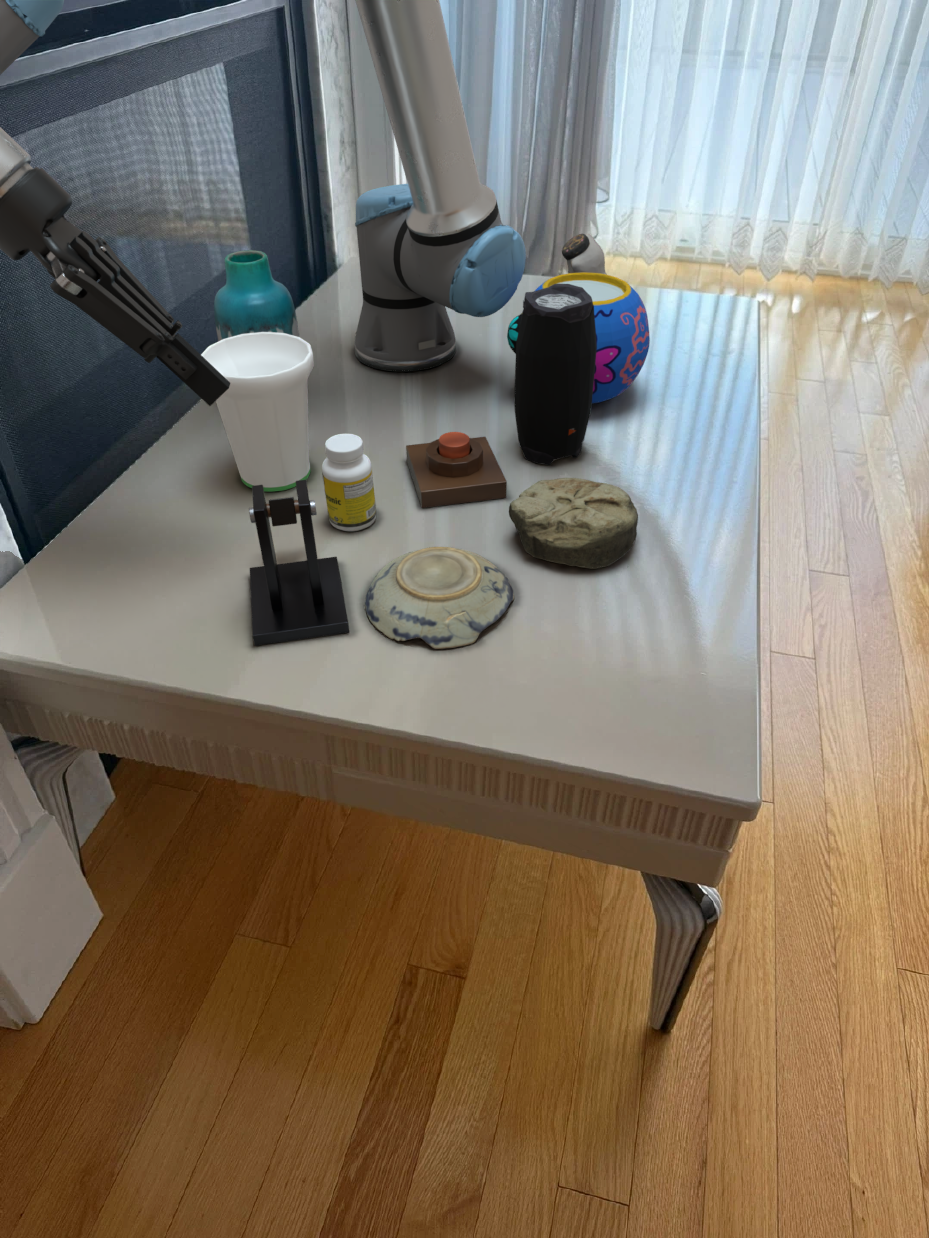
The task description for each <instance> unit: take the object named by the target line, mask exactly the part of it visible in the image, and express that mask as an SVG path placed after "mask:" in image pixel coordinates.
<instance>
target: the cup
mask: <svg viewBox="0 0 929 1238" xmlns="http://www.w3.org/2000/svg"><path fill="white" fill-rule="evenodd" d="M200 354H201V355H202V356H203V357H204V358H205V359H206V360H207V361H208V362H209V363H210V364H211V365H212V366H213V367H214V368H215V369H216V370H217V371H218V372H219V373H221V374H222V375H223V376H224V377H225V378H226V379H227V380H228V381H229V382H230V386H229V389H228V390H227V391H225V392H224V393H223V394H222V395H221V396H220V397H219V398H218V399H217V400H216V401H215V403H216V406H217V409H218V413H219V415H220V419H221V421H222V424H223V428H224V431H225V434H226V437H227V439H228V443H229V447H230V449H231V451H232V455H233V458H234V462H235V464H236V467H237V470H238V474H239V475H240V479H241V482H242V483H243V484H244V485H245V486H246V487H247V488H250V489H252V486H255V485H263V489H264V493H265V492H267V493H273V492H275V493H276V492H282V491H287V490H290V489H293V488H296V481H299V480H306V481H307V480H308V479H309V477H310V474H311V472H312V471H311V463H310V440H309V439H310V437H309V435H310V434H309V433H310V431H309V382H308V381H309V379H308V378H309V376H310V374H311V372H312V370H313V368H314V367H315V363H314V352H313V349H312V345H311V344H310V343H309V342H308V341H306V340H305V339H303V338H302V337H300V336H299V337H297V336H293V335H289V334H285V333H275V332H257V333H247V334H241V335H237V336H233V337H229V338H226V339H223V340H221V341H219V342H218V341H217V342H215V343H212V344H210V345H209V346H207V347H206V348H205V350H204V351H203V352H202V353H200Z"/></svg>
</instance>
